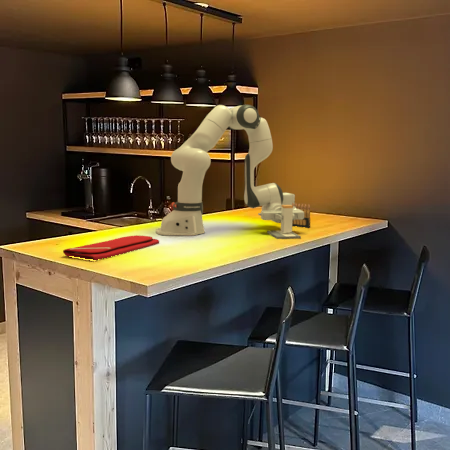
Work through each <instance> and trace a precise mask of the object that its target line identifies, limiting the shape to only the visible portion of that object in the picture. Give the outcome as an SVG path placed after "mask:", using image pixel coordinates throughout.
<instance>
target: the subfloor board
mask: <svg viewBox="0 0 450 450" xmlns="http://www.w3.org/2000/svg"><path fill="white" fill-rule="evenodd" d="M267 234H268V235H270V236H271V237H272V238H275V239H277V240H283V239H284V240H287V239H289V240H291V239H297V240H298V239H301V237H302V236H301V235H299V234H297V233H295V232H294V231H292V232H282V231H281V230H267Z"/></svg>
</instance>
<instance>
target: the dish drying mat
mask: <svg viewBox="0 0 450 450" xmlns="http://www.w3.org/2000/svg"><path fill="white" fill-rule="evenodd" d="M158 244H160V240H159V239H156V238H153V236H150V235H137V234H136V235H128V236H123V237H122V236H121V237H118V238H115V239H110V240H109V239H108V240H106V241H101V242H95V243H90V244H86V245H80V246H77V247H72V248H71V247H69V248H66V249H63V251H62V252H63V254H64V255H65V256H67V257H68V256H74V257H80V258H85V259H93V260H98V259H102V258H106V259H108V258H107V257H110V258H112V257H111V256H114V257H116V256H115V255H117V256H120V255H119V254H121V255H124V254H127V252H128V253H130V251H131V252H134V250H135V251H138V249H139V250H141V249H144V248H148V247H151V246H155V245H158ZM123 253H124V254H123Z"/></svg>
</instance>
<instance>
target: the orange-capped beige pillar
mask: <svg viewBox="0 0 450 450" xmlns="http://www.w3.org/2000/svg"><path fill="white" fill-rule="evenodd" d="M281 215H283V219H281V223H280V231H282V232H293V226H292V217H293V206H292V205H282V210H281Z"/></svg>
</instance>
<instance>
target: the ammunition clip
mask: <svg viewBox="0 0 450 450" xmlns="http://www.w3.org/2000/svg"><path fill="white" fill-rule="evenodd" d="M292 206H294V207H296V209H300V210H302V211H303V212H304V219H302V220H301V219H297V220H292V227H295V226H297V228H303V227H305V229H310V228H311V206H310V203H308V204H306V203H297V202H295V204H294V203H292Z"/></svg>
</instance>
